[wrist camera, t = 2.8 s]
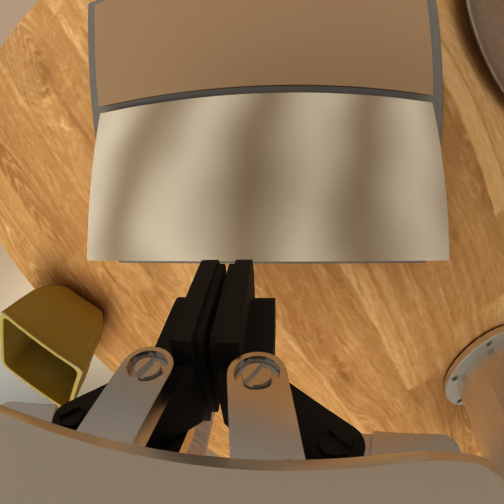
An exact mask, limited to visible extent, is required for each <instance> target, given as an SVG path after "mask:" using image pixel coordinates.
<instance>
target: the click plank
mask: <svg viewBox="0 0 504 504" xmlns="http://www.w3.org/2000/svg"><path fill="white" fill-rule="evenodd" d="M245 259H252V260H253V262H317V261H447V260H449V224H448V208H447V195H446V185H445V175H444V167H443V159H442V152H441V146H440V140H439V134H438V128H437V122H436V117H435V112H434V107H433V103H431V102H425V101H418V100H410V99H402V98H393V97H383V96H372V95H358V94H341V93H302V92H293V93H254V94H236V95H222V96H211V97H201V98H191V99H183V100H175V101H168V102H161V103H154V104H148V105H142V106H136V107H130V108H125V109H120V110H115V111H110V112H105V113H100V117H99V123H98V130H97V136H96V143H95V151H94V159H93V168H92V177H91V188H90V201H89V217H88V243H87V260H96V261H202V260H219V261H229V262H235V260H245Z"/></svg>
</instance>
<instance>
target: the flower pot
mask: <svg viewBox="0 0 504 504" xmlns="http://www.w3.org/2000/svg"><path fill="white" fill-rule="evenodd" d="M102 330H103V313H102V311H101V310H100V309H99V308H97V307H96V306H94V305H93V304H91V303H90V302H88V301H87V300H85V299H84V298H82V297H81V296H79V295H78V294H76V293H75V292H74V291H72V290H71V289H69V288H68V287H66V286H61V285H48V286H43V287H40V288H37V289H35V290H33V291H31V292H30V293H28V294H27V295H25V296H24V297H22V298H21V299H19V300H18V301H17V302H15V303H14V304H12V305H11V306H9V307H8V308H7V309H5V310H4V311H2V312H1V315H0V339H1V358H2V363H3V365H4V366H5V367H6V368H7V369H9V370H10V371H11V372H12V373H13V374H15V375H16V376H17V377H19V378H20V379H22V380H23V381H24V382H25V383H27V384H28V385H30V386H31V387H32V388H34V389H35V390H37V391H38V392H39V393H41V394H42V395H44V396H45V397H47V398H48V399H49V400H51V401H52V402H54V403H55V404H57V405H59V406H62V405H64V404H65V403H67V402H69V401H71V400H73V399H76V398H77V395H78V393H79V390H80V388H81V386H82V384H83V382H84V380H85V377H86V375H87V372H88V369H89V366H90V362H91V360H92V357H93V354H94V352H95V349H96V347H97V344H98V342H99V339H100V337H101V333H102Z"/></svg>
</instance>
